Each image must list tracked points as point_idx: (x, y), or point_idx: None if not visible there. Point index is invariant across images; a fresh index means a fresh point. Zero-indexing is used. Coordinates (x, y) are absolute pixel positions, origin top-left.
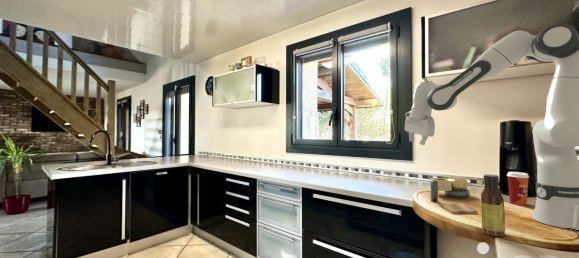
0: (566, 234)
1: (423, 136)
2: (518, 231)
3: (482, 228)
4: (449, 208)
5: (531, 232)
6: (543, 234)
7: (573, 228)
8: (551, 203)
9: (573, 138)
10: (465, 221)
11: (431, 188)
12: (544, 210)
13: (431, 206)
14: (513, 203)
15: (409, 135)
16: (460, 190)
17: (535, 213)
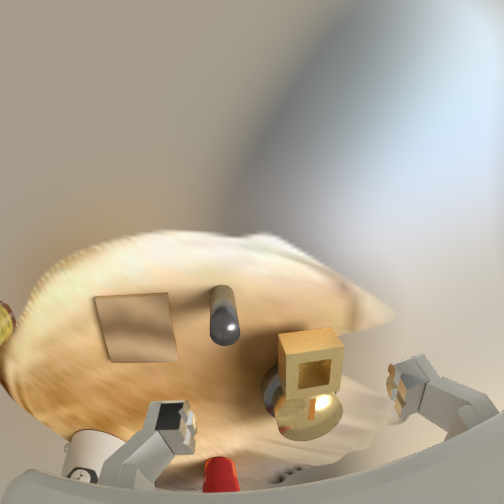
0: (47, 422)
1: (100, 476)
2: (29, 367)
3: (3, 304)
4: (119, 303)
5: (33, 383)
6: (32, 393)
7: (69, 444)
8: (72, 464)
9: None
10: (49, 300)
11: (218, 305)
12: (82, 450)
13: (159, 263)
14: (213, 458)
15: (460, 392)
16: (272, 400)
17: (101, 442)
